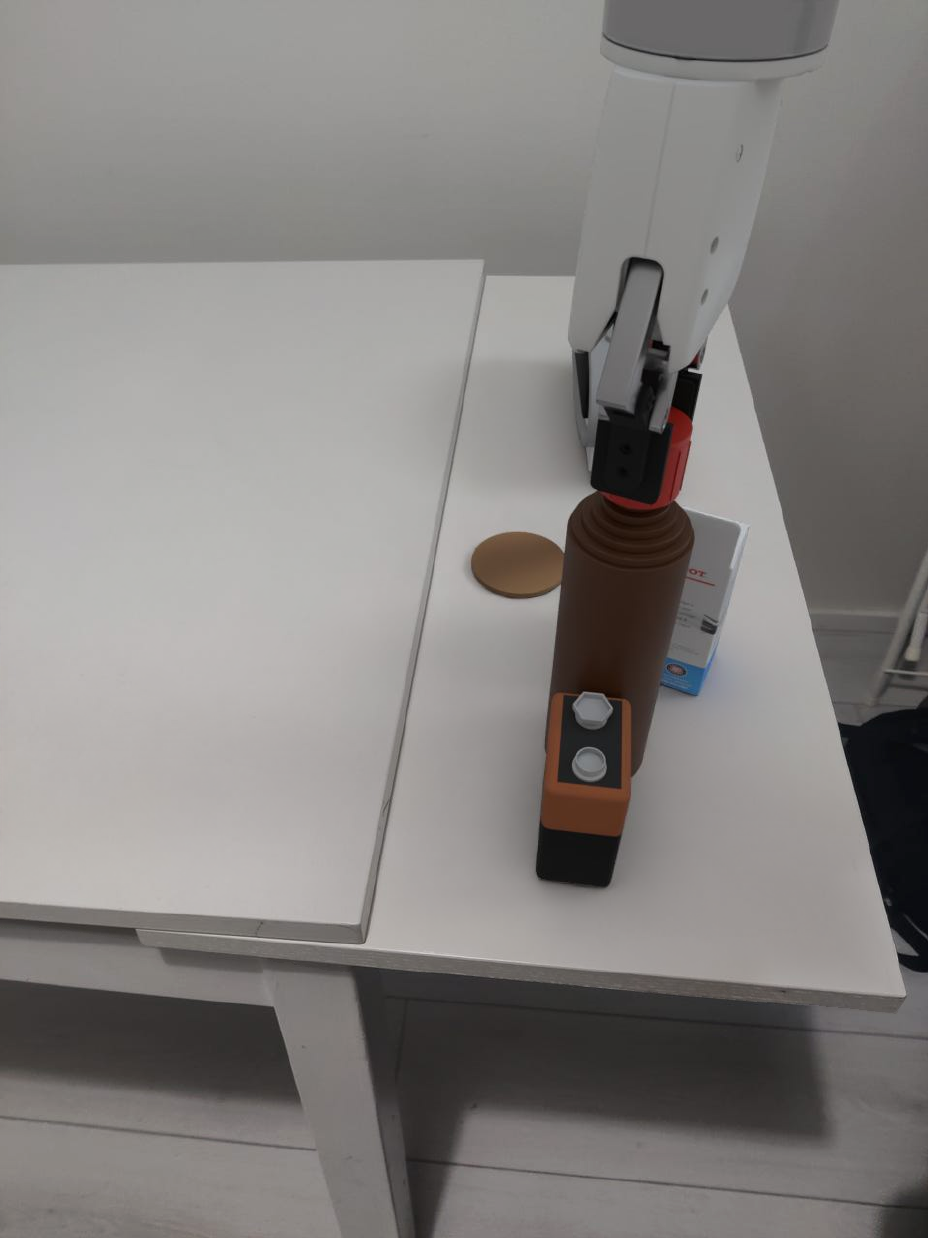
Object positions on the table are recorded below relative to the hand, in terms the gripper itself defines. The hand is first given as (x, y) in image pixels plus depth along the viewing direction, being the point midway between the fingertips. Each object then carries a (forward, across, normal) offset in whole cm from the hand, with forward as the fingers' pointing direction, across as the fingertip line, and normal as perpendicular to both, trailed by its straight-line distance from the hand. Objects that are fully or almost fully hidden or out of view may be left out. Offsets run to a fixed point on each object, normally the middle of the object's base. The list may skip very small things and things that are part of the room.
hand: (640, 464), depth 42 cm
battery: (+22, +7, +1) cm, 23 cm away
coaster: (+22, -15, -11) cm, 29 cm away
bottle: (+22, 0, 0) cm, 22 cm away
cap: (+1, 0, 0) cm, 1 cm away
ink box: (+22, -10, +1) cm, 24 cm away
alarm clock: (+22, -38, -12) cm, 46 cm away
